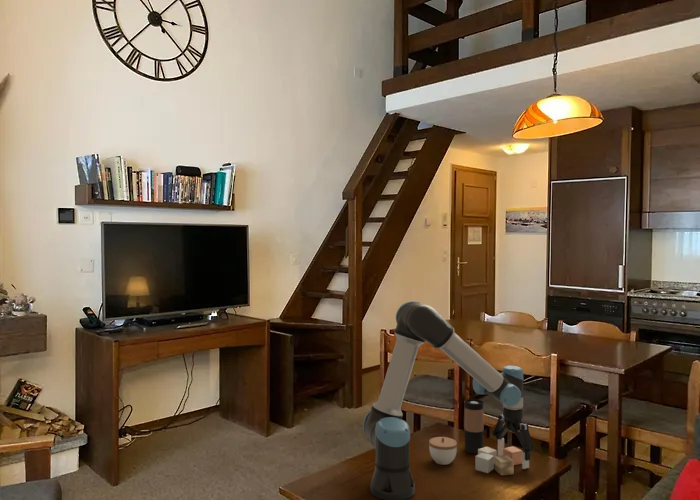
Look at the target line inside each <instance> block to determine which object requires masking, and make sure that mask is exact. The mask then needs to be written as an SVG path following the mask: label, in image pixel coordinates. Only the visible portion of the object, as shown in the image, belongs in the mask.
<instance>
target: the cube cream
mask: <svg viewBox="0 0 700 500" xmlns="http://www.w3.org/2000/svg"><path fill="white" fill-rule="evenodd" d="M480 453H485V454H489V455H493V456H494V465H495V457H496V456H498V449H494V448H492V447H489V446H483V448H480V449H478V453H477V455H478V454H480Z"/></svg>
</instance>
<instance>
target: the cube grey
mask: <svg viewBox="0 0 700 500" xmlns="http://www.w3.org/2000/svg"><path fill="white" fill-rule="evenodd" d="M474 457H475V459H474V460H475V464H474V465H475V467H474V469H475V471H478V472H483V473H486V474H489V473H490V472H491V471H493V470H495V464H494V456H493V455H489V454H485V453H480V454H478V453H477V455H475V456H474Z"/></svg>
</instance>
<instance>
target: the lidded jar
mask: <svg viewBox="0 0 700 500" xmlns="http://www.w3.org/2000/svg"><path fill="white" fill-rule="evenodd" d="M428 445H429V447H428V448H429V455H430V457H431V458H432V460H434V462H435V463H436V464H438V465H442V466H444V465H445V466H447V465H450V464H451V463H452V462H453V461H454V460H455V458H456V456H457V451H458V448H457V447H458V443H457V441H456V440H455V439H453V438H451V437H447V436H436V437H432V438H429V441H428Z"/></svg>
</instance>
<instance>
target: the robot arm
mask: <svg viewBox="0 0 700 500" xmlns="http://www.w3.org/2000/svg"><path fill="white" fill-rule="evenodd" d="M395 321H396V327H395V330H394V335H395V337H396V341H395V344H394V347H393V351H392V354H391V358H390V360H389V364H388V367H387V370H386V373H385V377H384V380H383V384H382V387H381V390H380V393H379V397H378V400H377V401H376V402H373V403H372V406H371V409H370V411H368V412H367V413H366V414H365V416H364V418H363V425H362V428H363V432H364V434H365V435H364V436H366V438H367V440H368V441H369V442H370V443H371V444H372V446H373V447H374V449H375V468H374V472H373V474H372V475H373V476H372V478H371V481H370V484H369V485H370V488H369V489H370V493H371V494H372V495H373V496H374V497H375V498H377V499H380V500H408V499H410V498H411V497H413V496H414V495H415V491H416V489H415V487H416V485H415V482H414V481H415V480H414V478H413V475H412V473H411V472H412V471H411V469H410V467H411V465H410V462H411V461H410V459H411V456H410V455H411V454H410V453H411V451H410V450H411V447H410V445H411V442H410V440H411V431H410V426H409V423H408V422H406V421H405V420H403V419H402V418H403V412H402V410H401V407H402V404H403V400H404V398H405V394H406V391H407V387H408V384H409V382H410V378H411V375H412V371H413V367H414V364H415V362H416V358H417V356H418V355H417V354H418V351H419V348H420V346H423V344H425V343H426V342H427V343H428V344H430V345H431V346H432V347H433V348H434V349H440V350H441V351H442V352H443V353H444V354H445V355H446V356H447V357H449V358H450V359H451V360H453V361H454V363H456V364H457V365H458V366H459V367H460V368H461V369H463V370H464V372H466V373H467V374H468V375H469V376H471V377H472V378H473V379H472V388H473V391H474V392H475V394H476V395H488V396H489V397H492V398H493V399H495V400H497V401H499V402H500V403H501V404H502V405H503V406H502V414H499V415H498V417H497V422H496V425H495V427H494V430H493V433H492V435H493V436H495V438H496V446H497V456H503V448H505V438H504V436H505V435H506V434H507V432H509V431H511V432H512V433H514V435H515V436H516V438H517V439H518V441H519V444H520V445H521V447H522V464H521V469H522V470H526V469H529V468H530V460H531V452H535V450H536V449H535V447H534V444H533V440H532V436H531V434H530V431H529V424H528V423H523V421H522V419H523V418H524V408H523V407H524V379H525V378H524V371H523V368H522V367H519V366H516V365H506V366H505V365H504V366H503V367H502V372H499V371H498V370H497V369H495V367H494V366H492V365H491V364H490V363H489V362H488V361H487V360H485V359H484V358H483V357H482V356H481V354H479V353H478V352H477V351H476V350H475V349H473V348H472V347H471V346H470V345H469V344H468V343H467V342H466V341H465V340H463V339H462V338H461V337H460V336H459V335H458V334H457V333H456V332H455V328H454V327H453V325H451V324H450V323H449V322H448V321H447V320H446V319H445V318H444V317H443V316H442V315H441V314H440V313H439V312H438V311H437V310H436V309H435V308H434V307H432V306H431V305H428V304H424V303H421V302H419V301H415V300H414V301H412V300H411V301H407V302H404V303H402V304H401V305H400V306H399V308H397V311H396V313H395Z"/></svg>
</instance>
